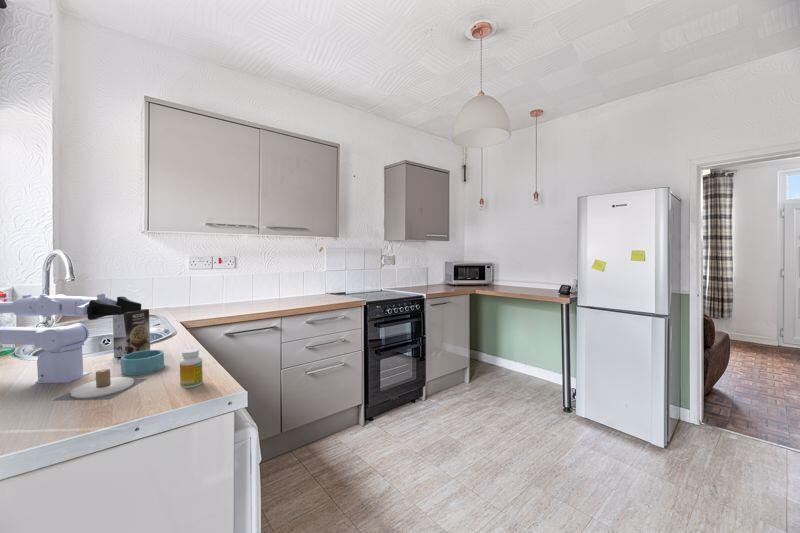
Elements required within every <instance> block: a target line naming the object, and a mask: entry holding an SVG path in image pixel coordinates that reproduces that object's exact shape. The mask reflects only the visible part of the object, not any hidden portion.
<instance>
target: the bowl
mask: <svg viewBox="0 0 800 533" xmlns="http://www.w3.org/2000/svg"><path fill="white" fill-rule="evenodd" d="M164 367H165V351H164V350H162V349H150V350H145V351H138V352H134V353H129V354H127V355H124V356H122V357H121V358H120V373H121V374H122V375H123V376H141V375H147V374H150V373H154V372H157V371H160V370H163V368H164Z"/></svg>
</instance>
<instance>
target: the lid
mask: <svg viewBox="0 0 800 533" xmlns="http://www.w3.org/2000/svg"><path fill="white" fill-rule="evenodd" d="M134 379H135V378H132V377H128V376H127V377H126V376H118V377H115V376H114V377H111V369H108V368H107V369H99V370H97V371H95V380H93V381H90V382H86V383H83V384H81V385H79V386H77V387H74V388H73V389H71V391H70V392H71V397H73V398H77V399H87V398H95V397H101V396H106V395H110V394H114V393H117V392H120V391H123V390H125V389H127V388H129V387H131V386H132V385H133V384H134Z"/></svg>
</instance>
